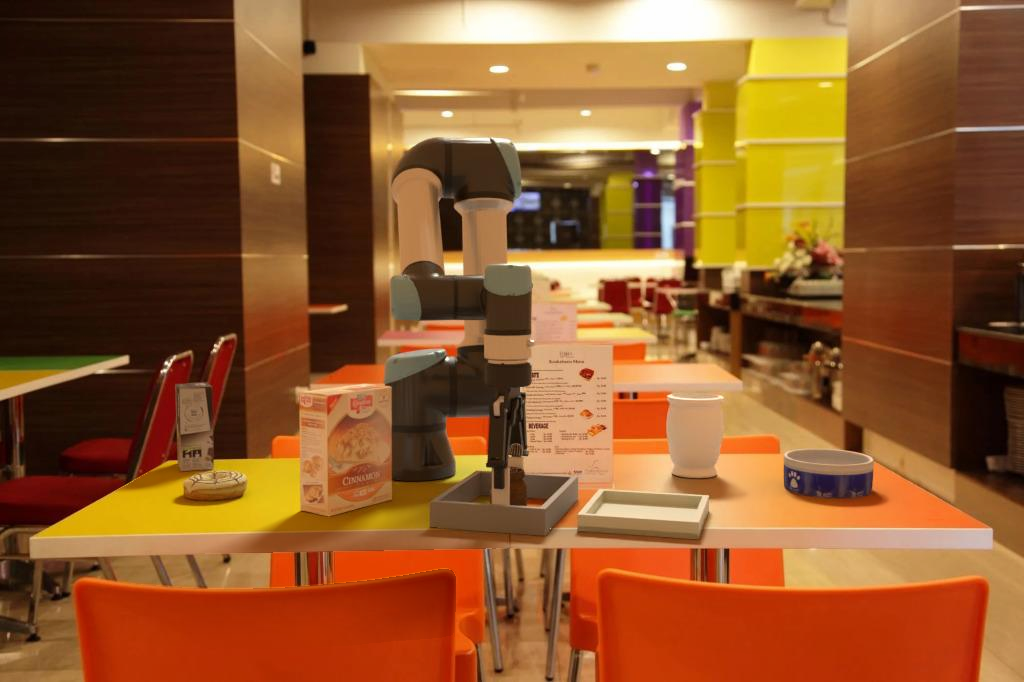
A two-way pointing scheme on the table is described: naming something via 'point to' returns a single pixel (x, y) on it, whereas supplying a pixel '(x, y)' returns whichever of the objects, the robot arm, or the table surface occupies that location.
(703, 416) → the jar
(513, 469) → the brown container
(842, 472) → the dog bowl
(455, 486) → the bottomless rectangular frame
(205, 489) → the decorated donut
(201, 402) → the coffee box
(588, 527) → the tray
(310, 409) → the coffeecake box
